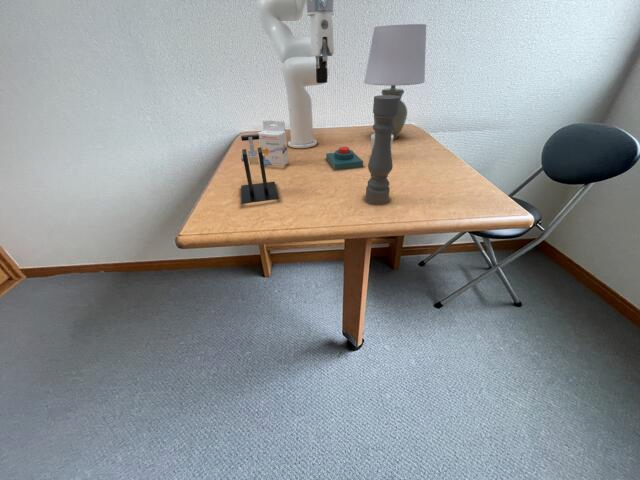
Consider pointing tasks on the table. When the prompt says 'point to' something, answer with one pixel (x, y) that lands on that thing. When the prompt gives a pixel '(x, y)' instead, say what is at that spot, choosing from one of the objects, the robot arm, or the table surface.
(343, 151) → the button
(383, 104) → the candle holder
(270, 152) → the ink box
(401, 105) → the lamp
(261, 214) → the table surface
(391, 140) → the cup
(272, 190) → the bracket
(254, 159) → the lever
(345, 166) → the button block
